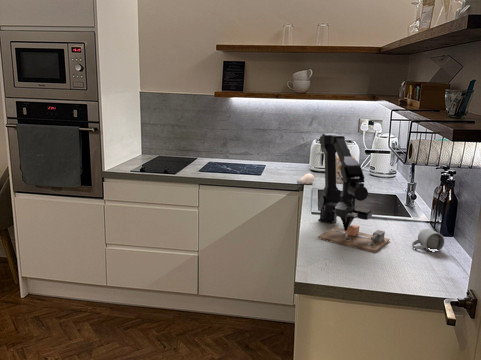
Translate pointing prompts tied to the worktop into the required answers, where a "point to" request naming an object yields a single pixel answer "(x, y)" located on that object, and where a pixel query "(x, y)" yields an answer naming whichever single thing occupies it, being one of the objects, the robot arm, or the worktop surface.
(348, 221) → the robot arm
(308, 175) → the light bulb
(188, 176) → the worktop surface
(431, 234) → the ceramic mug
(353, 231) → the block
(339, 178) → the decorative jar
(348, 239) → the board
